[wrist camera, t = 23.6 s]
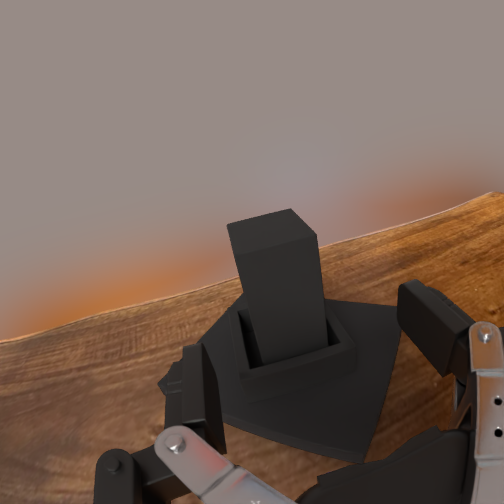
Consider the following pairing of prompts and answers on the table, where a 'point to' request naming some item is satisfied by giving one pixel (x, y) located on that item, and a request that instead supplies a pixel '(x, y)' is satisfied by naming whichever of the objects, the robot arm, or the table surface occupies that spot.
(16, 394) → the table surface
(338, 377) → the socket pad
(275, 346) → the black rectangular block
